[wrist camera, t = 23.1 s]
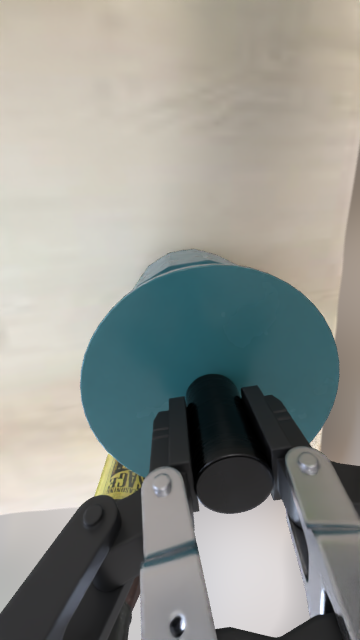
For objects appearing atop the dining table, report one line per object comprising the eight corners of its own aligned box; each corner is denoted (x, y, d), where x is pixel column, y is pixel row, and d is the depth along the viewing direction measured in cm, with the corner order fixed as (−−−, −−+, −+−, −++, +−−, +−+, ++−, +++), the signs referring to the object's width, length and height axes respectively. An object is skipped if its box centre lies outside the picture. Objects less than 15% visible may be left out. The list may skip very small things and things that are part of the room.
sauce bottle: (171, 431, 32) (174, 710, 13) (148, 464, 34) (120, 754, 15) (124, 410, 31) (55, 686, 12) (102, 446, 33) (10, 738, 14)
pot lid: (55, 285, 12) (-50, 334, 6) (330, 241, 12) (482, 249, 6) (118, 485, 16) (90, 624, 10) (322, 455, 16) (407, 579, 10)
